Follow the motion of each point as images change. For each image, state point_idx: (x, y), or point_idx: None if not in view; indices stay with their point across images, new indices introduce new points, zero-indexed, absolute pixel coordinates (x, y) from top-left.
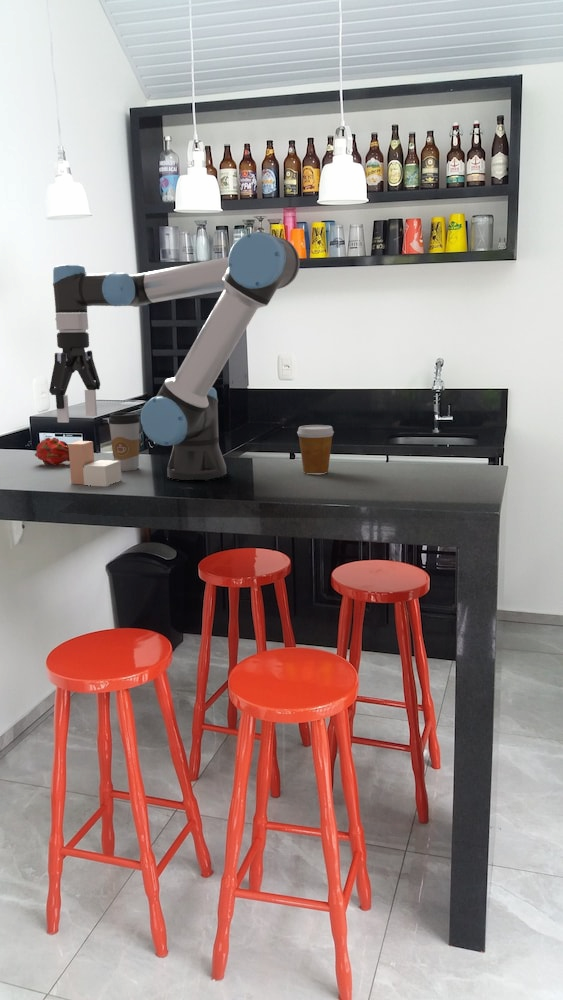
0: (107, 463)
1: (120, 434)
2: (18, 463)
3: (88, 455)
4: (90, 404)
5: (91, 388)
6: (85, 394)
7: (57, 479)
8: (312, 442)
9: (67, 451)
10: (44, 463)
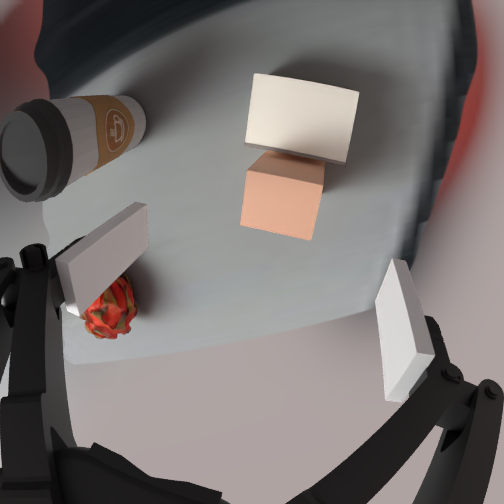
0: (306, 97)
1: (92, 135)
2: (129, 346)
3: (292, 166)
4: (119, 248)
5: (55, 286)
6: (93, 298)
7: (264, 243)
8: None
9: None
10: (138, 307)
